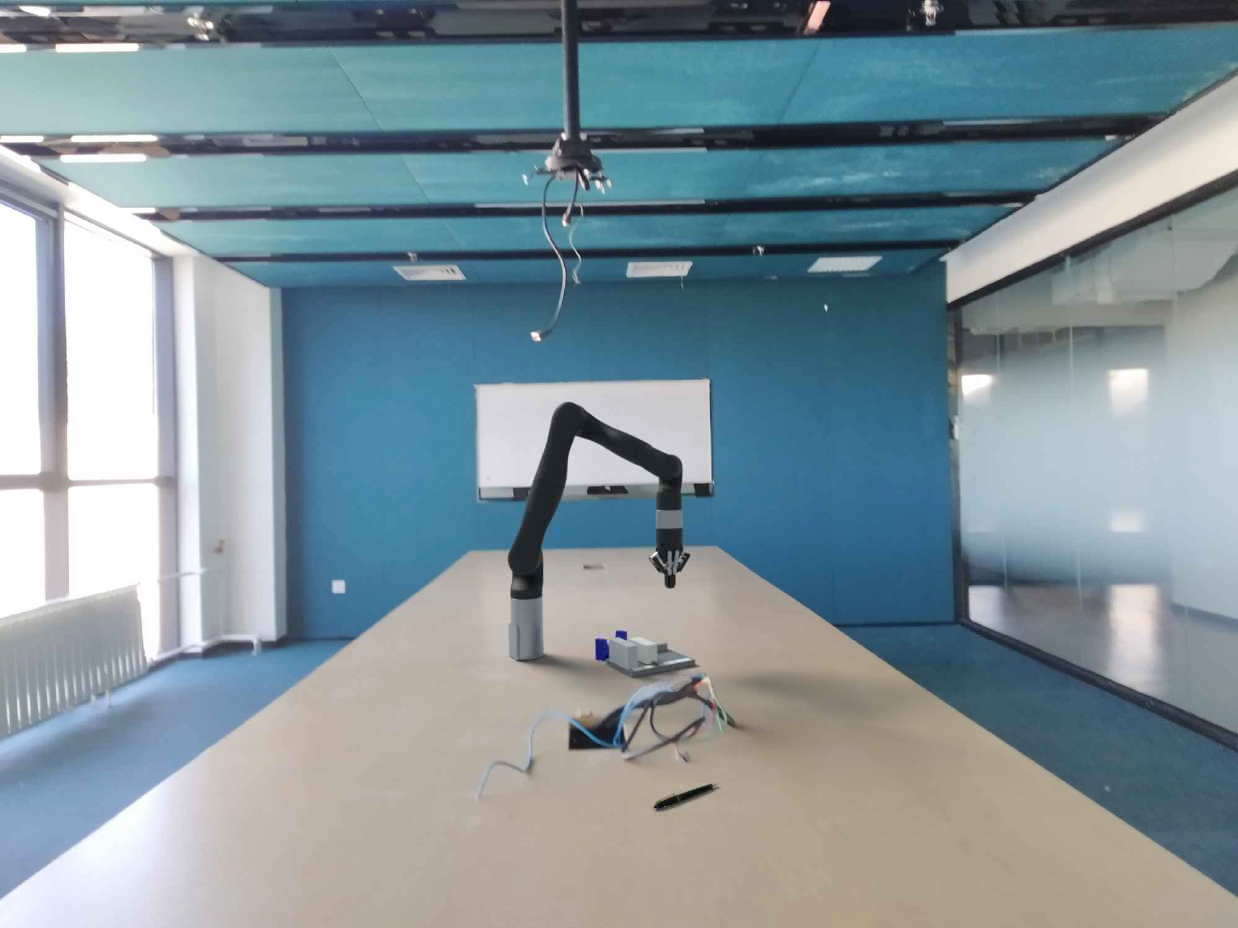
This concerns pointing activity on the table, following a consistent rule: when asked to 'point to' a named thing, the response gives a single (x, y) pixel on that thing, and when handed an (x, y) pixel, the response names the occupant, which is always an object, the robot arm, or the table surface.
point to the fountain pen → (682, 796)
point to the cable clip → (606, 645)
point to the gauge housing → (627, 662)
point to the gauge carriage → (645, 650)
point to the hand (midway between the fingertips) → (670, 587)
